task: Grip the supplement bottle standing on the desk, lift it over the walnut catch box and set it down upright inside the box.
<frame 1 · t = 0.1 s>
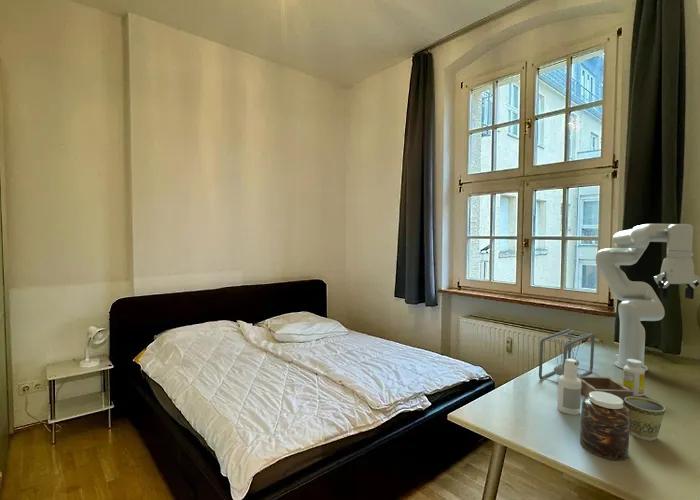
hand: (676, 298, 150), 37 cm above the table, tool pointing down, fingers open, 9 cm apart
jar: (603, 448, 109), on the table
catch box: (602, 396, 144), on the table
spray bottle: (568, 411, 132), on the table
newton's cradle: (566, 376, 165), on the table
ceramic cup: (645, 434, 117), on the table
supplement bottle: (632, 393, 147), on the table
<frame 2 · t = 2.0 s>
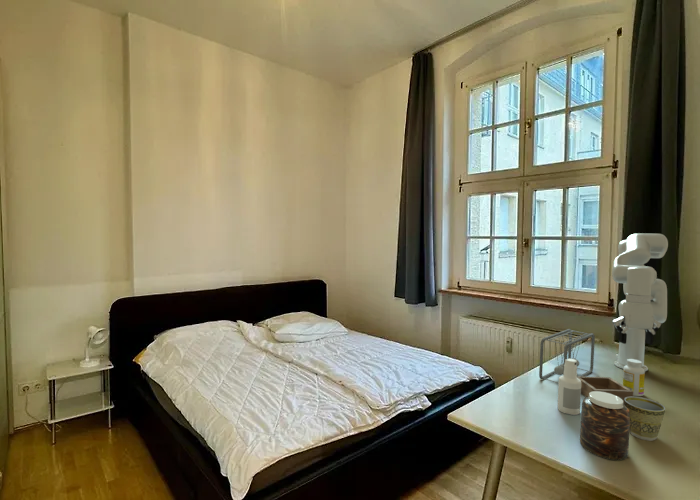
hand: (635, 343, 146), 20 cm above the table, tool pointing down, fingers open, 9 cm apart
nothing on the table moved.
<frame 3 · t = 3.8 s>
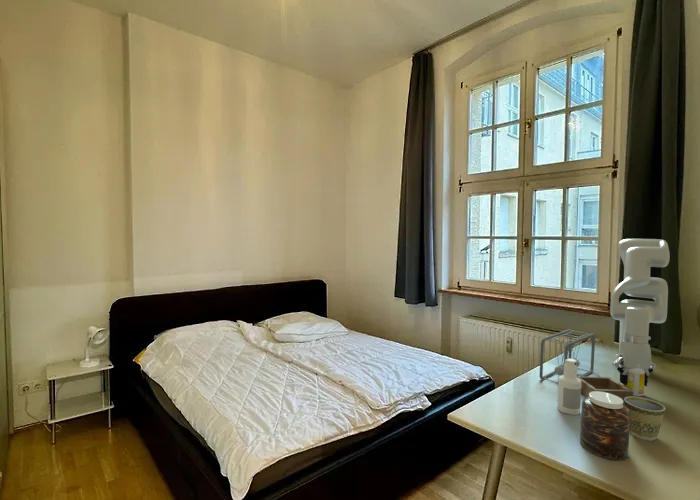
hand: (633, 383, 147), 4 cm above the table, tool pointing down, fingers closed on supplement bottle, 6 cm apart
supplement bottle: (632, 393, 147), on the table, touching gripper
everything else where it was.
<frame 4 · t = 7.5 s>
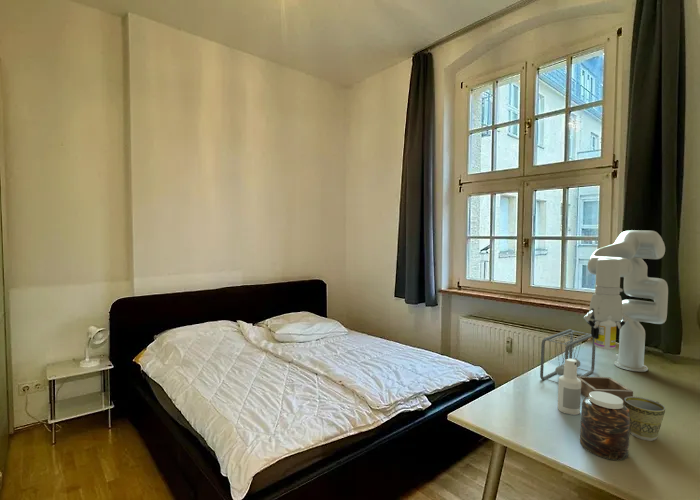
hand: (604, 337, 143), 23 cm above the table, tool pointing down, fingers closed on supplement bottle, 6 cm apart
supplement bottle: (604, 348, 143), point 19 cm above the table, touching gripper
everything else where it was.
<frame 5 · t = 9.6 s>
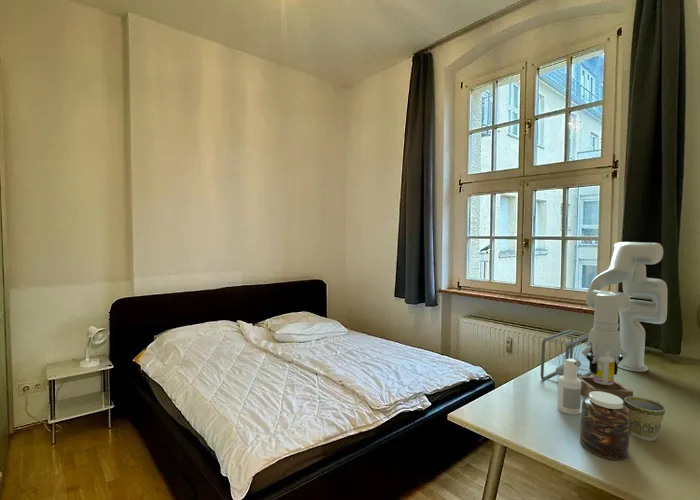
hand: (603, 372, 144), 9 cm above the table, tool pointing down, fingers closed on supplement bottle, 6 cm apart
supplement bottle: (602, 382, 144), point 5 cm above the table, touching gripper
everything else where it was.
when the fingers open (6 cm above the table, at t = 11.2 s): supplement bottle drops 2 cm, resting on catch box.
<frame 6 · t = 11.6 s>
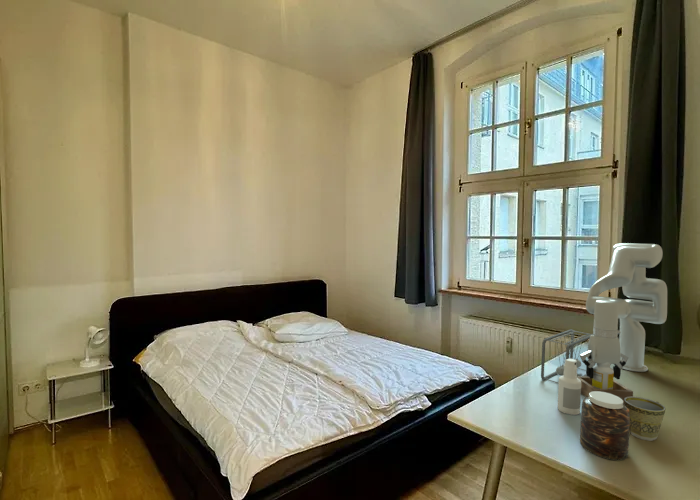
hand: (602, 377, 144), 7 cm above the table, tool pointing down, fingers open, 9 cm apart
supplement bottle: (601, 394, 144), point 1 cm above the table, touching catch box
everything else where it was.
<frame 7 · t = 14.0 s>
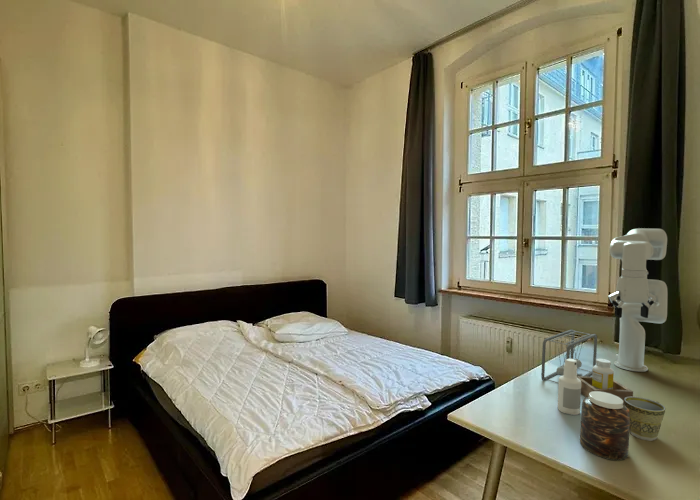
hand: (631, 316, 149), 29 cm above the table, tool pointing down, fingers open, 9 cm apart
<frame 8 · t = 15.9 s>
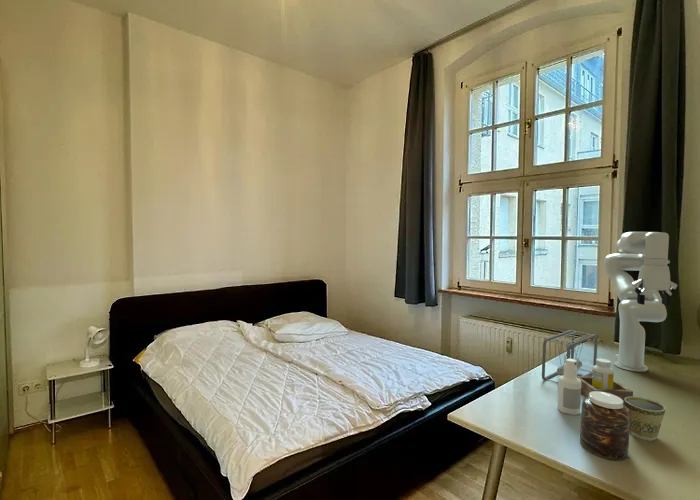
hand: (653, 304, 155), 33 cm above the table, tool pointing down, fingers open, 9 cm apart
at the end: supplement bottle inside the target area on the catch box (0.1 cm from its centre), point 0.8 cm above the catch box's base; supplement bottle tilted 0° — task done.
